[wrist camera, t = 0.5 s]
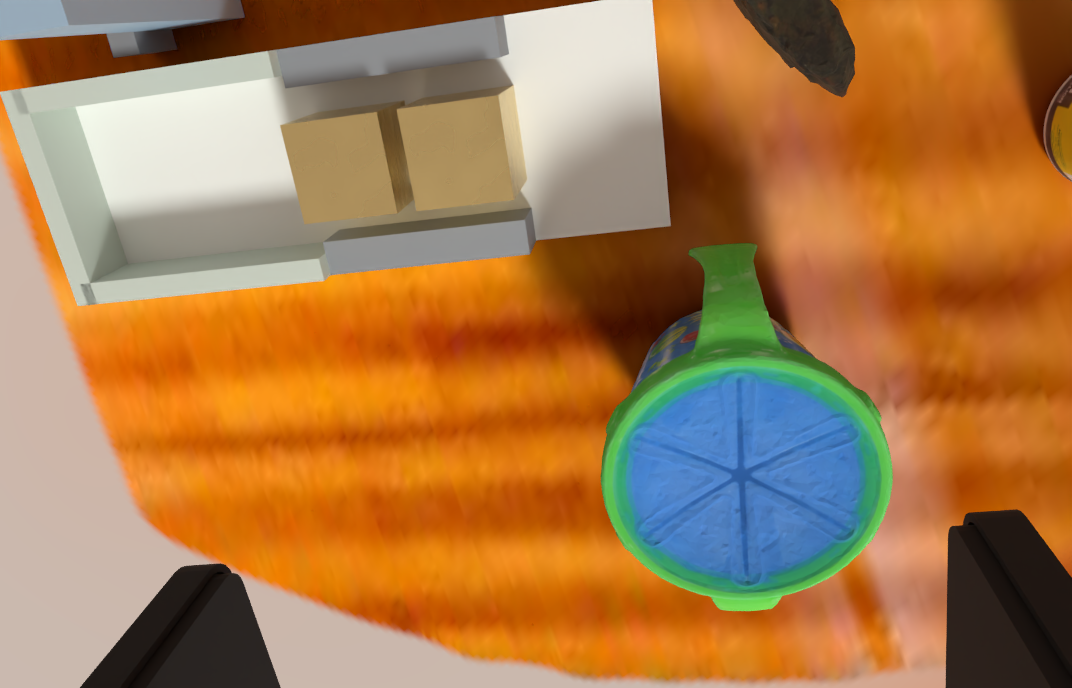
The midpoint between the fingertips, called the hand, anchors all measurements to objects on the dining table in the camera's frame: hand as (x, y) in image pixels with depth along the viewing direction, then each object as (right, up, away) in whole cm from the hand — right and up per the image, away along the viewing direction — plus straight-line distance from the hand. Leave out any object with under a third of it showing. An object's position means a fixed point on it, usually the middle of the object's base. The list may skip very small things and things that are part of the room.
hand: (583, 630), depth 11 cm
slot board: (-8, +13, +27) cm, 31 cm away
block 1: (-8, +12, +26) cm, 29 cm away
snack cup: (+8, +2, +29) cm, 30 cm away
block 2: (-3, +13, +25) cm, 28 cm away
